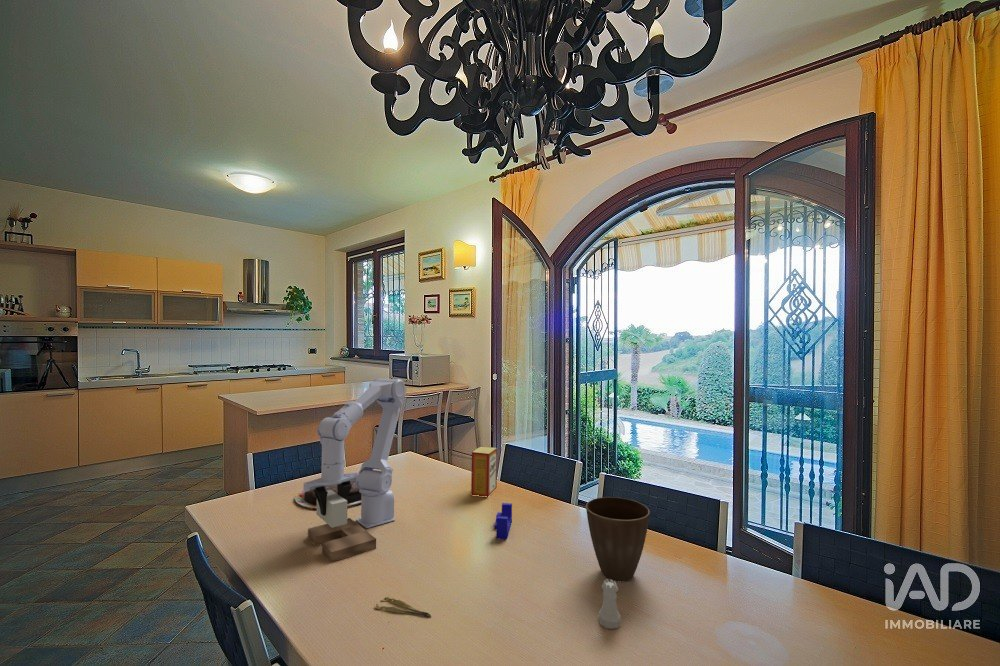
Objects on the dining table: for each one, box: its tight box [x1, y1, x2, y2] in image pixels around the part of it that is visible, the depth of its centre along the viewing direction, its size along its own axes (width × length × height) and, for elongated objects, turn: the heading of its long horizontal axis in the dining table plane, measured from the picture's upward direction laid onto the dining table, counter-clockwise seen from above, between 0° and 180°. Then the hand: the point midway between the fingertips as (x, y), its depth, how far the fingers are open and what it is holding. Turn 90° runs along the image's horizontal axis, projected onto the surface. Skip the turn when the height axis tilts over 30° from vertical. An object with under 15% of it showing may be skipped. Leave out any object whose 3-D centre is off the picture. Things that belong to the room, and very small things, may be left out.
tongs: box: [373, 596, 432, 619], centre depth 92 cm, size 4×13×2 cm, turn 73°
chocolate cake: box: [294, 481, 361, 510], centre depth 158 cm, size 28×28×7 cm
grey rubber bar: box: [315, 490, 348, 528], centre depth 121 cm, size 4×12×6 cm, turn 40°
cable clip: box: [494, 502, 513, 540], centre depth 132 cm, size 12×4×6 cm, turn 172°
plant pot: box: [585, 496, 651, 583], centre depth 107 cm, size 15×15×16 cm
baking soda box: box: [470, 446, 498, 497], centre depth 164 cm, size 10×6×16 cm
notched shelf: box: [307, 517, 377, 563], centre depth 122 cm, size 12×18×2 cm, turn 41°
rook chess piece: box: [597, 578, 622, 630], centre depth 89 cm, size 4×4×8 cm
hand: (331, 512), depth 120 cm, fingers closed on grey rubber bar, 4 cm apart
